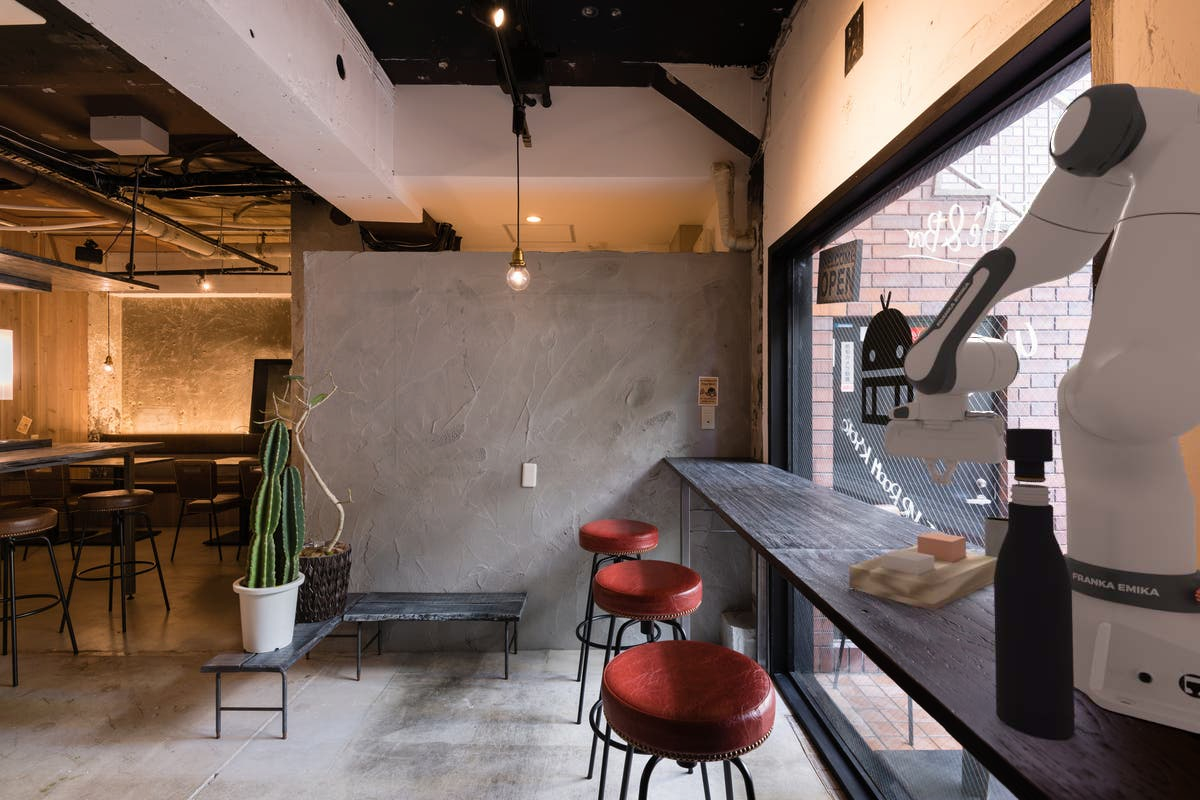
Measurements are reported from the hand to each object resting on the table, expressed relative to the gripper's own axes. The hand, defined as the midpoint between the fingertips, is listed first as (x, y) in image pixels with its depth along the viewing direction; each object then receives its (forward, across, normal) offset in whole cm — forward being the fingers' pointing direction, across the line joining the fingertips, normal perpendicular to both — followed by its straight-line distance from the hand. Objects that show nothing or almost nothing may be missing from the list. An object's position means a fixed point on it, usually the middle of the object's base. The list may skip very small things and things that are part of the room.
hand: (941, 483), depth 109 cm
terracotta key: (+14, 0, 0) cm, 14 cm away
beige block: (+16, 0, +13) cm, 20 cm away
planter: (+18, -5, -13) cm, 23 cm away
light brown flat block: (+18, 0, +7) cm, 19 cm away
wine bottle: (+18, -28, +46) cm, 57 cm away
